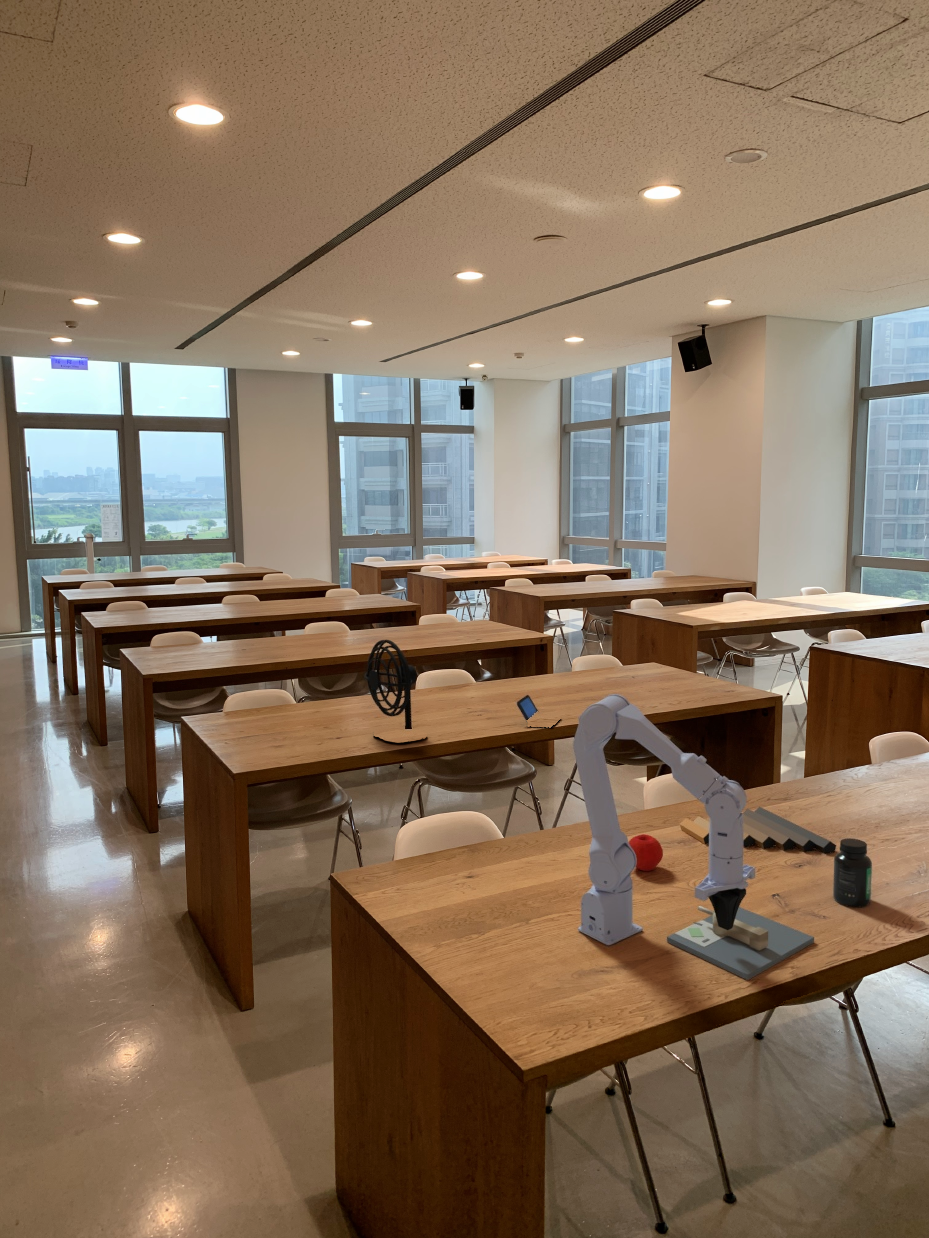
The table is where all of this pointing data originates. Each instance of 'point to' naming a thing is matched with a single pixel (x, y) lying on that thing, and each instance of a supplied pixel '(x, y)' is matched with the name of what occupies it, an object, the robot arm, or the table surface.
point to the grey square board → (741, 944)
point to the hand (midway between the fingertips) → (725, 927)
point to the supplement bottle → (852, 874)
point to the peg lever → (741, 932)
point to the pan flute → (765, 832)
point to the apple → (646, 852)
